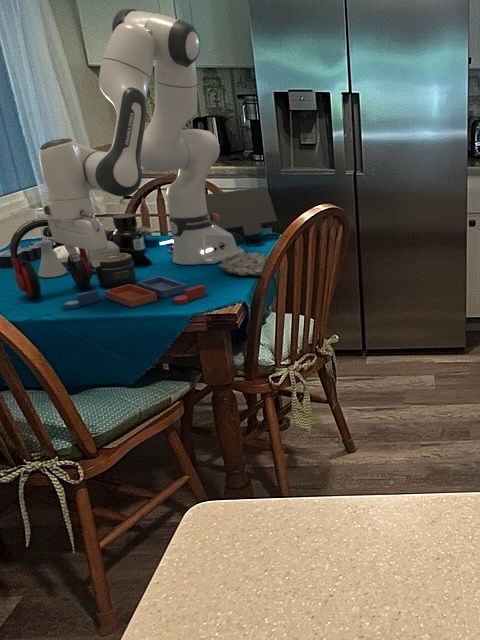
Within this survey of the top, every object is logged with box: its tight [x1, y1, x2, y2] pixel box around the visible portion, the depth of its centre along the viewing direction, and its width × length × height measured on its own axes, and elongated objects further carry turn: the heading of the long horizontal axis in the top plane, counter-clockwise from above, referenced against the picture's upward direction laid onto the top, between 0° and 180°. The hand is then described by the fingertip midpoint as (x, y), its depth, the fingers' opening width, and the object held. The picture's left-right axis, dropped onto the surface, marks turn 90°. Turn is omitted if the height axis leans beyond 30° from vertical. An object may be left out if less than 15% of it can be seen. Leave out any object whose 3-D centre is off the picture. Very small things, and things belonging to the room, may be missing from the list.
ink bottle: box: [112, 213, 146, 253], centre depth 213 cm, size 10×9×12 cm
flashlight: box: [43, 227, 115, 242], centre depth 218 cm, size 4×5×25 cm
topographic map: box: [108, 225, 158, 233], centre depth 223 cm, size 19×19×2 cm
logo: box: [0, 238, 64, 268], centre depth 209 cm, size 24×3×10 cm
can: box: [35, 206, 53, 241], centre depth 226 cm, size 6×6×12 cm
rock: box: [218, 252, 280, 277], centre depth 196 cm, size 17×4×15 cm
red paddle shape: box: [173, 284, 207, 305], centre depth 173 cm, size 9×4×3 cm, turn 143°
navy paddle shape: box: [63, 289, 101, 310], centre depth 169 cm, size 9×4×3 cm, turn 143°
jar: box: [94, 253, 137, 289], centre depth 184 cm, size 10×10×8 cm
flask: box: [37, 240, 69, 278], centre depth 191 cm, size 7×7×10 cm
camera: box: [205, 186, 278, 243], centre depth 229 cm, size 25×16×16 cm, turn 126°
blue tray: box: [136, 276, 188, 299], centre depth 180 cm, size 13×7×2 cm, turn 53°
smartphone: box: [119, 248, 153, 265], centre depth 202 cm, size 7×1×15 cm
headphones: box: [9, 218, 93, 299], centre depth 174 cm, size 18×10×20 cm, turn 134°
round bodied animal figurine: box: [85, 241, 120, 264], centre depth 195 cm, size 7×12×8 cm, turn 138°
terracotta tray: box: [104, 283, 158, 308], centre depth 173 cm, size 13×7×2 cm, turn 53°
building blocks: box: [167, 245, 173, 254], centre depth 218 cm, size 6×8×2 cm
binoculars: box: [53, 246, 80, 260], centre depth 206 cm, size 10×16×5 cm, turn 141°
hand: (85, 263), depth 166 cm, fingers open, 8 cm apart
